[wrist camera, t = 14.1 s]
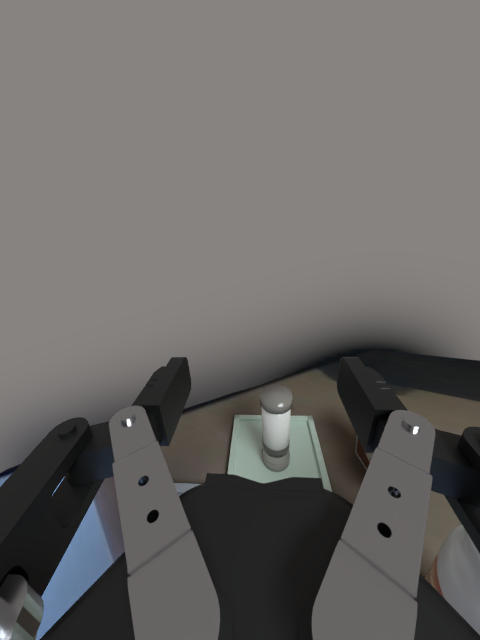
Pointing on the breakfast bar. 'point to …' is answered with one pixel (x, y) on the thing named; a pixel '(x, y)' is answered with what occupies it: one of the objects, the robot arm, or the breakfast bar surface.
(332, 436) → the breakfast bar surface
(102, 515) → the breakfast bar surface
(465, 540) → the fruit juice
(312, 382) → the breakfast bar surface
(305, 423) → the tray
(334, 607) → the robot arm
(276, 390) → the grey-capped white cylinder
